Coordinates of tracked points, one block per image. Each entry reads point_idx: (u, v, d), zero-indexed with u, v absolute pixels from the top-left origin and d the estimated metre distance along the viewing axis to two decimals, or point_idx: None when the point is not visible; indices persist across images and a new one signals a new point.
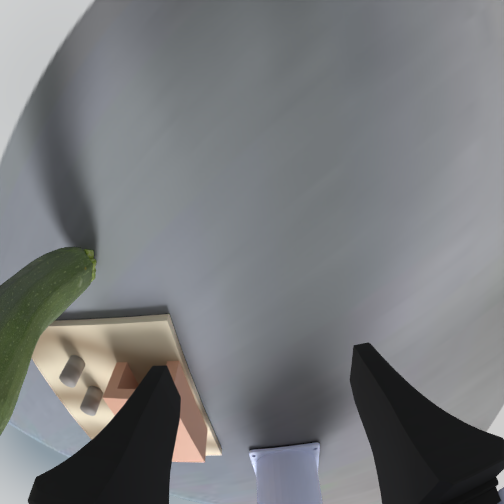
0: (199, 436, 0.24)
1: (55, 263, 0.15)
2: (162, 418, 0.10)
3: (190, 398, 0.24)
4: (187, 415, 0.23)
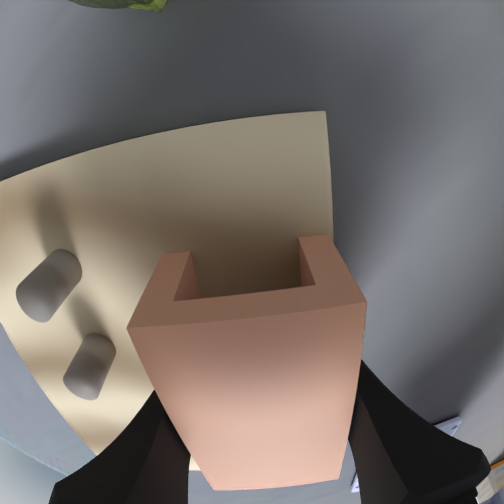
0: None
1: None
2: None
3: None
4: None
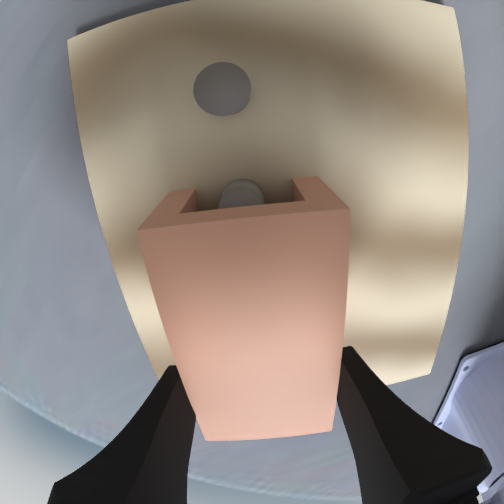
0: None
1: None
2: (180, 418, 0.10)
3: None
4: None
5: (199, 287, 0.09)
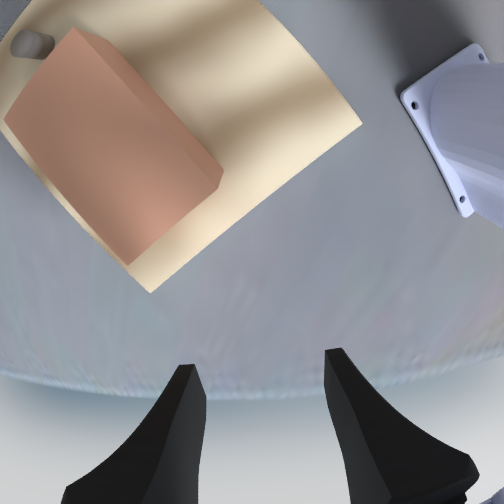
0: (185, 140, 0.13)
1: None
2: (191, 418, 0.10)
3: (146, 85, 0.13)
4: (131, 80, 0.12)
5: (36, 121, 0.11)
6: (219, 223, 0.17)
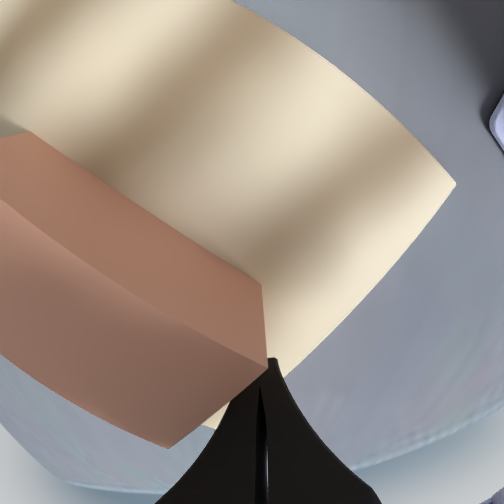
0: (191, 285, 0.08)
1: None
2: (263, 414, 0.10)
3: (102, 192, 0.09)
4: (67, 210, 0.07)
5: None
6: (289, 359, 0.13)
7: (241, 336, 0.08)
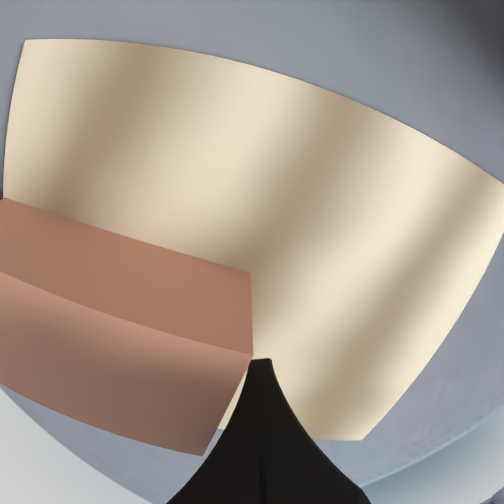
0: (165, 292, 0.08)
1: None
2: None
3: (75, 231, 0.09)
4: (41, 256, 0.07)
5: None
6: (415, 368, 0.13)
7: (222, 329, 0.08)
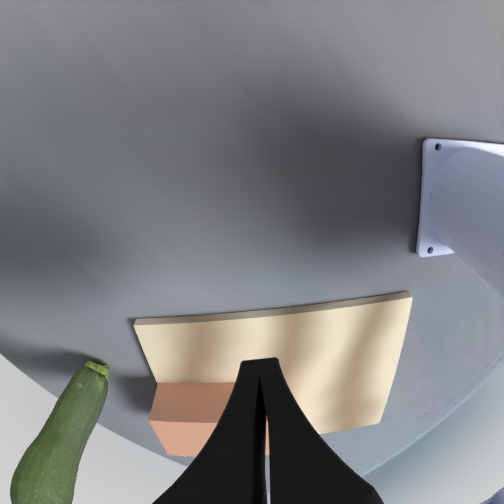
0: None
1: (60, 396, 0.20)
2: (261, 414, 0.10)
3: (204, 389, 0.23)
4: (199, 408, 0.21)
5: (185, 448, 0.22)
6: (386, 385, 0.25)
7: None
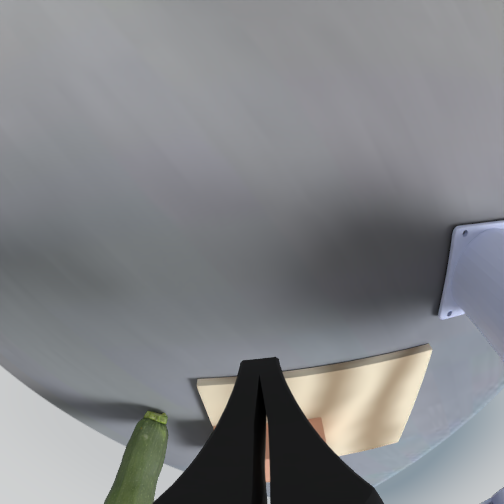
0: None
1: (127, 446, 0.22)
2: (261, 414, 0.10)
3: None
4: None
5: None
6: (406, 414, 0.27)
7: None
